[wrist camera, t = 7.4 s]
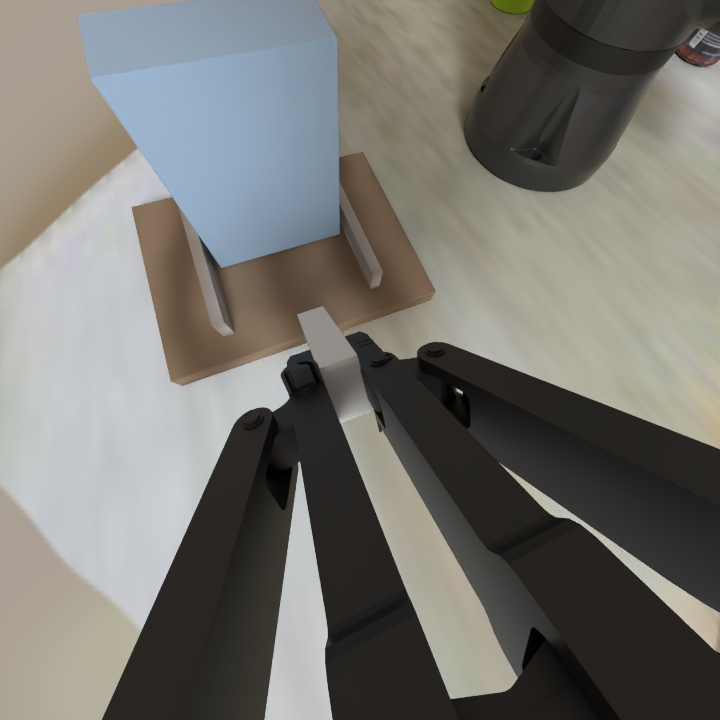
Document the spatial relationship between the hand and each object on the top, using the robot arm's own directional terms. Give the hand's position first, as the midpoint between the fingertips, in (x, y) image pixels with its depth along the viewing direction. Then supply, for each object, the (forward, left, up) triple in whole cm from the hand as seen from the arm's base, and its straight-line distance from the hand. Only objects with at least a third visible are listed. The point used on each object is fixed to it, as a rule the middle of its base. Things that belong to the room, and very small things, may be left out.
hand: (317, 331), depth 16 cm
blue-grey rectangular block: (0, -12, -5) cm, 13 cm away
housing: (0, -10, -6) cm, 12 cm away
